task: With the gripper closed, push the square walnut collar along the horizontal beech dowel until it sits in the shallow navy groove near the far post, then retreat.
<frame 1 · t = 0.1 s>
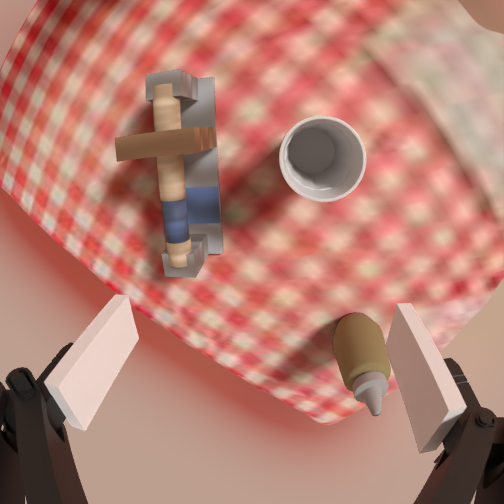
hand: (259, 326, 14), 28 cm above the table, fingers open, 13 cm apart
rail: (189, 168, 39), on the table
squeeze bottle: (353, 325, 47), on the table
collar: (187, 139, 38), resting on rail
cup: (310, 150, 37), on the table
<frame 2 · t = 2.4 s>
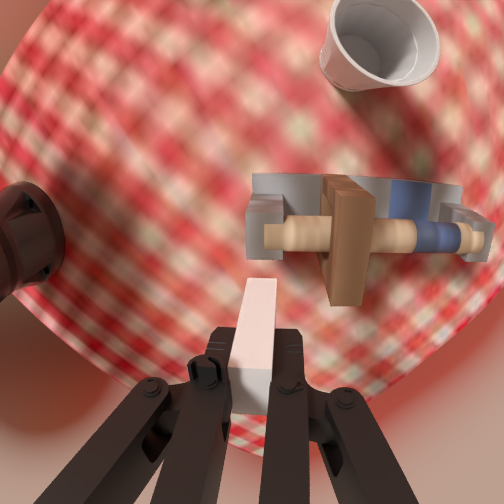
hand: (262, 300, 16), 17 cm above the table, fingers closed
rail: (364, 213, 31), on the table
collar: (328, 211, 32), resting on rail
cup: (349, 63, 25), on the table
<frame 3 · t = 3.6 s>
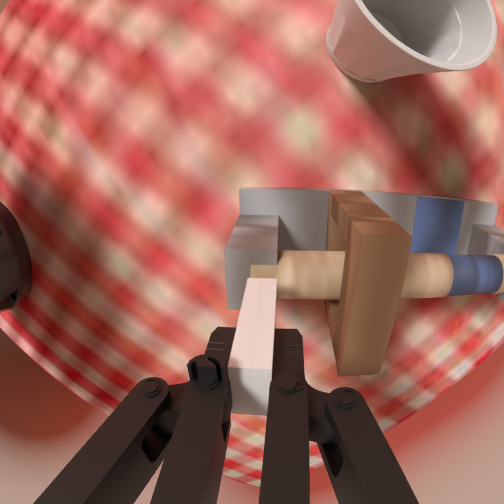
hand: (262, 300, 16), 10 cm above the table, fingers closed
rail: (382, 237, 24), on the table
collar: (337, 235, 25), resting on rail
cup: (364, 47, 19), on the table
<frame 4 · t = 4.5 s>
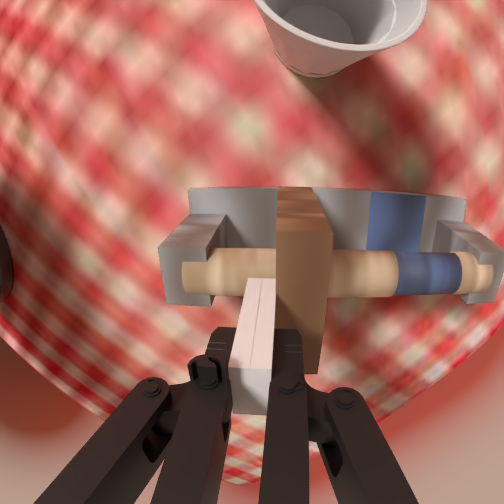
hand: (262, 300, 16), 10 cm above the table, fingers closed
rail: (336, 235, 25), on the table
collar: (292, 232, 25), resting on rail, touching gripper
cup: (312, 41, 19), on the table
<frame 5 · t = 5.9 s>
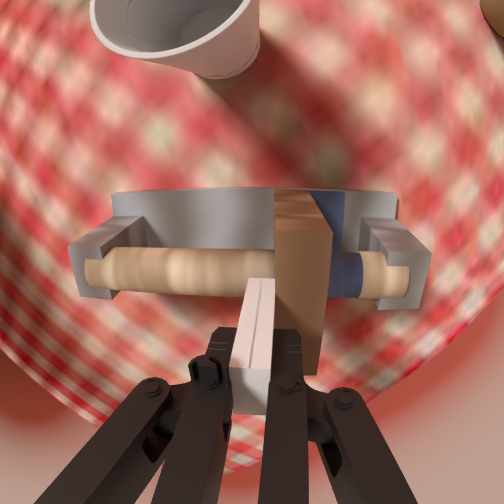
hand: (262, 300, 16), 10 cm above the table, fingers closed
rail: (249, 234, 26), on the table
squeeze bottle: (499, 15, 14), on the table
collar: (288, 235, 26), resting on rail, touching gripper
cup: (220, 44, 20), on the table
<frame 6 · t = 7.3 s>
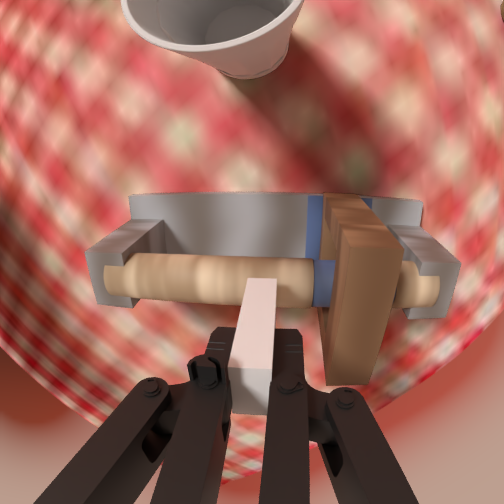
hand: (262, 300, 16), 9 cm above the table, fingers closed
rail: (274, 240, 25), on the table
collar: (332, 238, 25), resting on rail
cup: (246, 42, 19), on the table
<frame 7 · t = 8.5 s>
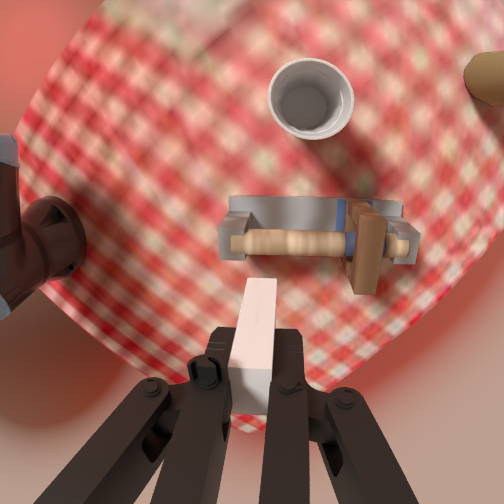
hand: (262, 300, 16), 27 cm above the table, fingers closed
rail: (317, 225, 42), on the table
squeeze bottle: (476, 81, 30), on the table
collar: (350, 225, 41), resting on rail
cup: (303, 107, 36), on the table
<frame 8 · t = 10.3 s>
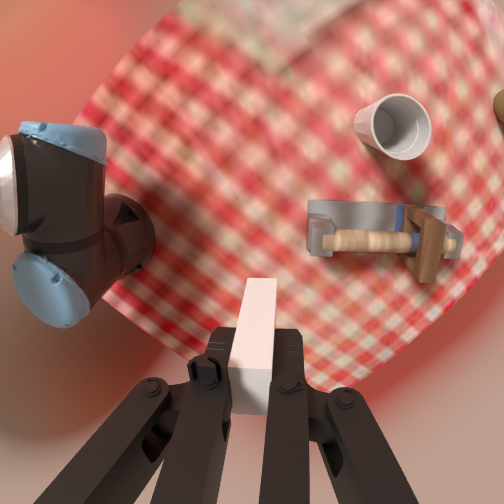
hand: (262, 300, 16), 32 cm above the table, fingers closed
rail: (379, 226, 47), on the table
squeeze bottle: (502, 108, 35), on the table
collar: (404, 227, 47), resting on rail
cup: (373, 126, 41), on the table
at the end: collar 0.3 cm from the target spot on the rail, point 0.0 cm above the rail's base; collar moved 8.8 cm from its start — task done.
